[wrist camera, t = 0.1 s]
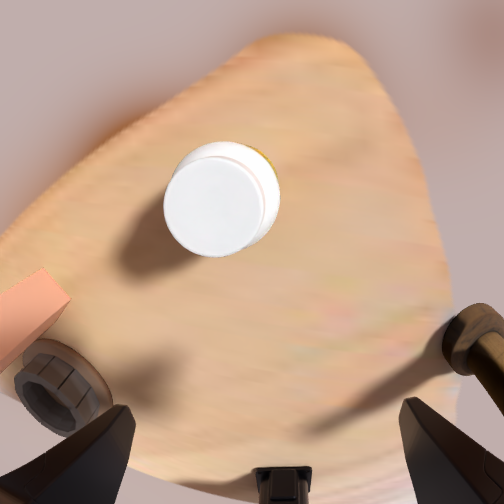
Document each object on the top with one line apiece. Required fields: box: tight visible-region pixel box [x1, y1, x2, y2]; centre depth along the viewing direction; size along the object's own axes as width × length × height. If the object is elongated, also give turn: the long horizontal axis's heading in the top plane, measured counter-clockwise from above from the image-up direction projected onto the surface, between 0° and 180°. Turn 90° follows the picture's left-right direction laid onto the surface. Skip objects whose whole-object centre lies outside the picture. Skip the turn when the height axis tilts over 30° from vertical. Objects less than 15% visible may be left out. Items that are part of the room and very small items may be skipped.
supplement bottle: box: [163, 141, 280, 257], centre depth 17 cm, size 5×5×10 cm
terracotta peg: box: [0, 268, 71, 374], centre depth 19 cm, size 4×4×13 cm
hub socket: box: [14, 339, 113, 438], centre depth 27 cm, size 12×12×4 cm
